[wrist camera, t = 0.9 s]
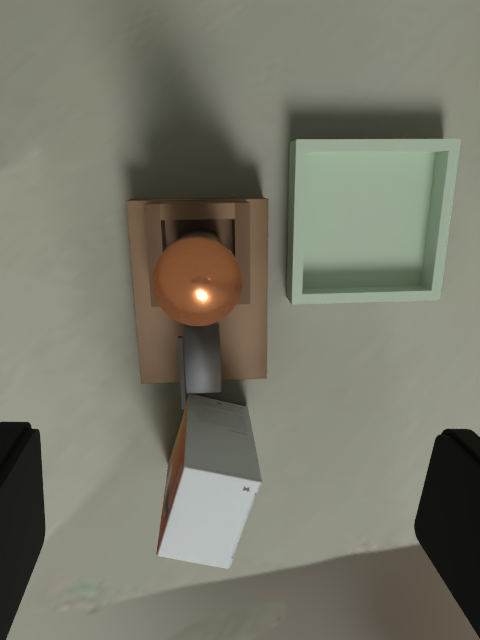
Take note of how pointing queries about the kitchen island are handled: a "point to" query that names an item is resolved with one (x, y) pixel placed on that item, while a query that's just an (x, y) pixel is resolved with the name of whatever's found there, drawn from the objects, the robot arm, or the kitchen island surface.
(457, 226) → the kitchen island surface
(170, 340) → the brown wooden stepped holder
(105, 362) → the kitchen island surface
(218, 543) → the small box
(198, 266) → the lock pin
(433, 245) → the tray
